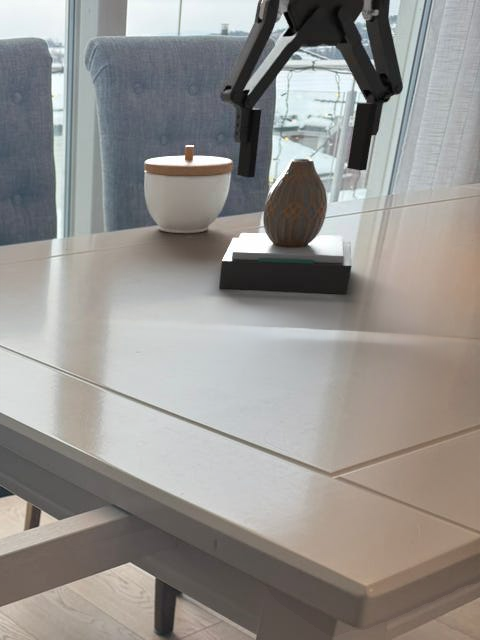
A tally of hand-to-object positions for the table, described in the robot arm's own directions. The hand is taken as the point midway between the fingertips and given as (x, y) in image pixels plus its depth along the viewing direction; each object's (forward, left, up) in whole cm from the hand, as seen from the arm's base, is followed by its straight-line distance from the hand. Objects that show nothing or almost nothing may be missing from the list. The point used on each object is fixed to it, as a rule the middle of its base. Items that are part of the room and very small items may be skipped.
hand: (301, 173), depth 104 cm
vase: (0, 0, -8) cm, 8 cm away
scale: (0, 0, -11) cm, 11 cm away
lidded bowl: (+16, -30, -12) cm, 36 cm away
